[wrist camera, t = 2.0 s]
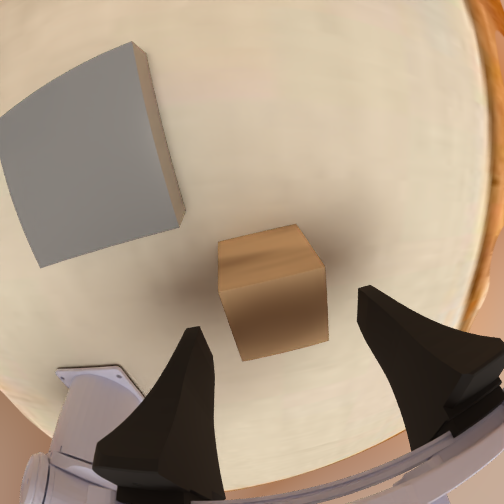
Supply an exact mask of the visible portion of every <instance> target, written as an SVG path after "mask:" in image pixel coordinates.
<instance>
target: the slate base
mask: <svg viewBox="0 0 504 504" xmlns="http://www.w3.org/2000/svg"><path fill="white" fill-rule="evenodd" d="M0 159H1V163H2V167H3V171H4V175H5V178H6V182H7V185H8V188H9V192H10V195H11V198H12V201H13V204H14V207H15V210H16V212H17V215H18V218H19V220H20V223H21V226H22V228H23V231H24V233H25V235H26V238H27V240H28V242H29V245H30V247H31V249H32V251H33V254H34V256H35V258H36V260H37V262H38V264H39V266H40V268H43V267H46V266H49V265H52V264H55V263H58V262H61V261H64V260H67V259H71V258H74V257H77V256H80V255H84V254H87V253H90V252H93V251H97V250H100V249H104V248H107V247H110V246H114V245H117V244H121V243H124V242H128V241H131V240H135V239H138V238H142V237H146V236H149V235H153V234H157V233H161V232H164V231H168V230H172V229H176V228H179V227H180V225H181V222H182V219H183V216H184V214H185V211H186V210H185V207H184V203H183V200H182V197H181V193H180V190H179V186H178V183H177V179H176V176H175V172H174V168H173V165H172V161H171V157H170V154H169V150H168V146H167V142H166V138H165V134H164V130H163V126H162V122H161V118H160V114H159V110H158V106H157V102H156V97H155V93H154V88H153V84H152V79H151V75H150V70H149V65H148V60H147V56H146V53H145V52H144V51H143V50H142V49H140V48H139V47H138V46H137V45H136V44H135V43H133V42H132V41H131V42H129V43H126V44H124V45H121V46H119V47H117V48H114V49H112V50H110V51H107V52H105V53H103V54H101V55H99V56H96V57H94V58H92V59H90V60H88V61H86V62H84V63H82V64H80V65H79V66H77V67H75V68H73V69H71V70H69V71H68V72H66V73H64V74H62V75H61V76H59V77H57V78H56V79H54V80H52V81H51V82H49V83H47V84H46V85H44V86H43V87H41V88H40V89H38V90H37V91H35V92H34V93H32V94H31V95H29V96H28V97H26V98H25V99H24V100H22V101H21V102H20V103H18V104H17V105H16V106H14V107H13V108H12V109H10V110H9V111H8V112H7V113H5V114H4V115H3V116H2V117H0Z"/></svg>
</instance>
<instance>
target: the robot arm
mask: <svg viewBox="0 0 504 504" xmlns="http://www.w3.org/2000/svg"><path fill="white" fill-rule="evenodd" d="M357 323H358V325H359V327H360V330H361V332H362V334H363V337H364V339H365V341H366V342H367V344H368V346H369V347H370V349H371V351H372V353H373V354H374V356H375V358H376V359H377V361H378V363H379V364H380V366H381V368H382V369H383V371H384V373H385V375H386V377H387V379H388V381H389V383H390V385H391V388H392V390H393V393H394V395H395V398H396V400H397V403H398V406H399V408H400V411H401V414H402V417H403V421H404V424H405V427H406V431H407V434H408V439H409V443H410V447H411V452H409V453H407V454H405V455H403V456H401V457H399V458H397V459H394V460H392V461H390V462H387V463H385V464H383V465H380V466H378V467H375V468H372V469H370V470H367V471H364V472H362V473H359V474H356V475H353V476H350V477H347V478H344V479H341V480H338V481H334V482H330V483H327V484H324V485H319V486H315V487H311V488H307V489H303V490H298V491H293V492H288V493H283V494H277V495H271V496H264V497H256V498H247V499H236V500H225V499H226V497H225V493H224V489H223V484H222V479H221V474H220V468H219V462H218V456H217V449H216V441H215V431H214V386H215V373H214V362H213V355H212V353H211V351H210V349H209V347H208V344H207V342H206V340H205V338H204V335H203V333H202V331H201V329H200V326H197V327H192V328H186V330H185V332H184V334H183V336H182V338H181V340H180V342H179V344H178V346H177V347H176V349H175V351H174V353H173V355H172V357H171V359H170V361H169V362H168V364H167V366H166V368H165V369H164V371H163V373H162V374H161V376H160V377H159V379H158V381H157V382H156V384H155V385H154V387H153V388H152V389H151V391H150V392H149V393H148V395H147V396H146V397H145V398H144V396H143V395H142V394H141V393H140V392H139V390H138V389H137V388H136V387H135V385H134V384H133V383H132V382H131V380H130V379H129V378H128V377H127V375H126V374H125V373H124V371H123V370H122V369H121V368H120V367H118V366H108V367H93V368H72V369H57V370H56V372H55V373H56V375H57V376H58V377H59V378H60V380H61V381H62V382H63V383H64V384H65V385H66V386H67V387H68V388H69V390H68V393H67V396H66V398H65V401H64V404H63V407H62V410H61V413H60V416H59V419H58V422H57V425H56V428H55V432H54V435H53V438H52V442H51V446H50V449H49V453H47V454H43V453H41V452H39V453H38V454H33V455H32V456H31V457H30V459H29V461H28V463H27V466H26V469H25V473H24V476H23V480H22V486H21V491H20V504H317V503H321V502H324V501H328V500H332V499H335V498H339V497H342V496H345V495H349V494H352V493H355V492H358V491H360V490H363V489H366V488H369V487H371V486H374V485H377V484H379V483H382V482H384V481H386V480H389V479H391V478H393V477H396V476H398V475H400V474H402V473H404V472H406V471H409V470H411V469H413V468H415V467H417V466H418V467H417V468H415V469H413V470H411V471H410V472H408V473H406V474H405V475H404V476H403V478H402V479H401V480H399V481H398V482H396V483H395V484H394V485H393V487H392V488H389V489H387V490H384V491H381V492H379V493H376V494H374V495H371V496H368V497H365V498H362V499H360V500H356V501H354V502H350V503H347V504H450V502H449V499H448V496H447V493H449V492H450V491H452V490H453V489H455V488H456V487H458V486H459V485H461V484H462V483H463V482H465V481H466V480H468V479H469V478H470V477H472V476H473V475H474V474H476V473H477V472H478V471H480V470H481V469H482V468H484V467H485V466H486V465H487V464H488V463H490V462H491V461H492V460H493V459H494V458H496V457H497V456H498V455H499V454H500V453H501V452H502V451H503V450H504V388H503V389H502V388H501V387H500V386H499V385H500V384H501V383H502V381H501V380H500V378H499V375H500V374H501V372H502V370H503V369H504V342H503V341H502V340H501V339H500V338H495V337H487V336H480V335H476V334H471V333H467V332H463V331H460V330H457V329H454V328H450V327H448V326H445V325H442V324H440V323H437V322H435V321H433V320H430V319H428V318H426V317H424V316H422V315H420V314H418V313H416V312H415V311H413V310H411V309H409V308H407V307H406V306H404V305H402V304H400V303H399V302H397V301H396V300H394V299H392V298H391V297H389V296H388V295H386V294H384V293H383V292H381V291H380V290H378V289H376V288H375V287H373V286H371V285H368V286H364V287H361V288H358V310H357ZM424 462H425V463H424ZM422 463H423V464H422ZM419 465H420V466H419Z"/></svg>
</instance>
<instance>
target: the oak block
mask: <svg viewBox="0 0 504 504" xmlns="http://www.w3.org/2000/svg"><path fill="white" fill-rule="evenodd" d="M218 293H219V296H220V299H221V302H222V305H223V308H224V311H225V313H226V316H227V319H228V322H229V325H230V328H231V331H232V334H233V336H234V339H235V342H236V345H237V348H238V350H239V353H240V356H241V359H242V361H248V360H253V359H258V358H262V357H267V356H271V355H276V354H280V353H284V352H288V351H292V350H296V349H300V348H304V347H308V346H311V345H315V344H319V343H322V342H326V341H329V331H328V306H327V288H326V273H325V266H324V264H323V263H322V261H321V260H320V258H319V257H318V255H317V254H316V252H315V251H314V250H313V248H312V247H311V245H310V244H309V242H308V241H307V239H306V238H305V236H304V235H303V233H302V232H301V230H300V229H299V228H298V226H297V225H296V224H293V225H289V226H285V227H280V228H276V229H271V230H267V231H263V232H258V233H254V234H249V235H245V236H241V237H237V238H232V239H228V240H224V241H220V242H218Z"/></svg>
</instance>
